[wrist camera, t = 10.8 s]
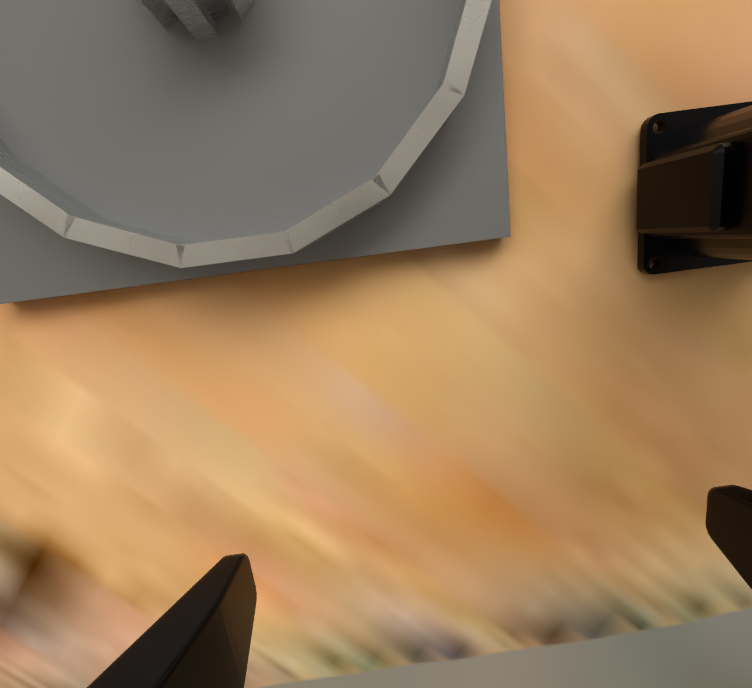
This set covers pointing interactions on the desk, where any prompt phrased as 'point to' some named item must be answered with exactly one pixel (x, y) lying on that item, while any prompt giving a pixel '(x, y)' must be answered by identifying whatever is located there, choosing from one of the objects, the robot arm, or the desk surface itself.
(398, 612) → the desk surface
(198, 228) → the tray
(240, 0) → the sun gear
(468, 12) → the grey flat ring
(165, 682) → the robot arm
